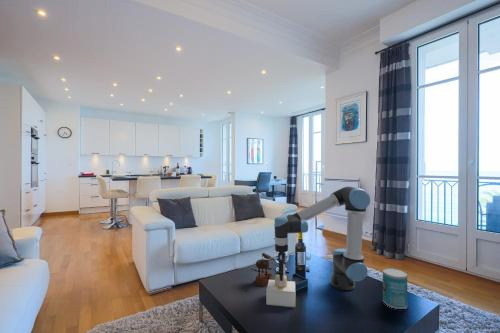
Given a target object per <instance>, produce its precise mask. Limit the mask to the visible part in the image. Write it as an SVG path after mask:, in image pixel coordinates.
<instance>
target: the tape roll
mask: <svg viewBox="0 0 500 333" xmlns="http://www.w3.org/2000/svg"><path fill="white" fill-rule="evenodd" d="M274 280H275V286H276V287H278V288H285V287H287V281H288V276H287V274H285V275H284V286H279V275H278V273H277V274H276V275H274Z"/></svg>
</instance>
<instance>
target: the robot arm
mask: <svg viewBox="0 0 500 333" xmlns="http://www.w3.org/2000/svg"><path fill="white" fill-rule="evenodd" d="M370 203H371V196H370V194H369V193H368V192H367V191H366V190H365V189H362V188H360V187H353V186H344V187H342V188H340V189H337V190H336V191H333V192H332V193H330V194H329V196H327V197H324V198H323V199H322V200H319V201H317V202H315V203H312V204H311V205H310V206H309V205H308V206H307V207H306V208H303V209H301V210H299V211H297V212H295V213H293V214H287V215H285V216H277V217H275V218H274V225H273V226H274V237H273V240H274V243H275V244H274V250H275V251H276V252H278V253H277V258H278V260H277V261H278V272H277V274H278V275H279V286H284V275H286V264H287V262H286V253H287V252H288V251H289V245H288V243H289V239H288V238H289V237H288V236H289V234H304V233H307V232H308V231H309V223H308V221H309V220H312V219H314V218H316V217H317V216H320V215H322V214H324V213H326V212H328V211H330V210H331V209H334V208H336V207H337V208H339V207H341V206H344V210H345V211H346V212H347V215H346V216H347V218H346V219H347V223H346V241H345V243H346V245H345V246H346V247H345V248H336V249H335V248H334V250H332V274H331V276H330V279H329V281H330V282H329V284H330V286H332V287H333V288H335V289H337V290H339V291H340V290H341V291H352V290H354V289H355V288H356V283H355V282H361V281H363V280H364V279H366V277H367V275H368V267H367V265H366V264H365V257H364V255H363V253H362V252H363V251H362V248H363V246H362V245H363V224H364V222H363V220H364V214H365V213H366V211H367V208H368V206H370Z"/></svg>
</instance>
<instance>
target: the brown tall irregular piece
mask: <svg viewBox="0 0 500 333" xmlns="http://www.w3.org/2000/svg"><path fill="white" fill-rule="evenodd" d="M261 257H262V258H261V259H258V260H257V261H256V262H255V266H256V268H258V270H257V269H254V268H251V269H250V270H251V271H255V272H257V273H258V274H257V275H256V277H255V284H257V285H258V286H261V287H267V286H268V282H269V280H272V277H273V273H272V272H271V271H273V268H272V267H270V266H271V260H274V257H272V256H270V254H266V253H265V252H262V253H261ZM264 270H265V271H264ZM268 270H269V271H268Z"/></svg>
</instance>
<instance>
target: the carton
mask: <svg viewBox="0 0 500 333" xmlns="http://www.w3.org/2000/svg"><path fill="white" fill-rule="evenodd" d="M265 292H266V294H265V295H266V296H265V297H266V299H265V300H266V301H265V303H266V305H267V306H277V307H286V308H296V292H295V293H291V292H280V291H268V290H267V289H266V291H265Z"/></svg>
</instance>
